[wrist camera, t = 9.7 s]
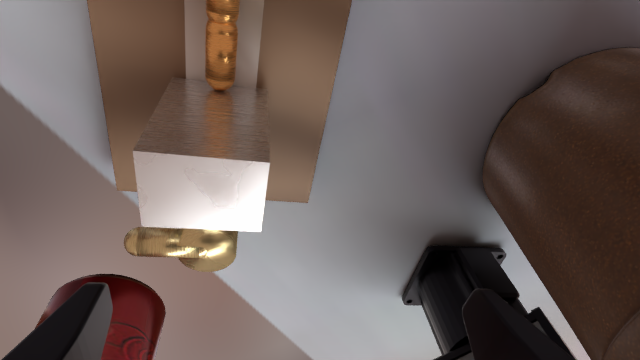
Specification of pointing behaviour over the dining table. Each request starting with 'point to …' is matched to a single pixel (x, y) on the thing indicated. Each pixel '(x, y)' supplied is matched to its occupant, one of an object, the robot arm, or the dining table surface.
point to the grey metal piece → (207, 143)
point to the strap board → (251, 71)
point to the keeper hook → (185, 246)
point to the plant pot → (578, 194)
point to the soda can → (123, 316)
